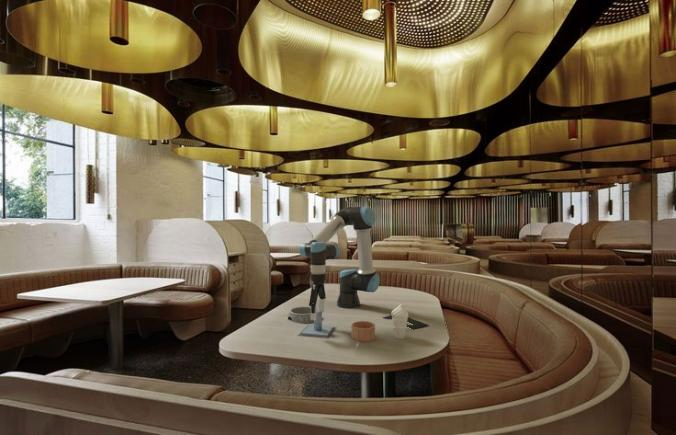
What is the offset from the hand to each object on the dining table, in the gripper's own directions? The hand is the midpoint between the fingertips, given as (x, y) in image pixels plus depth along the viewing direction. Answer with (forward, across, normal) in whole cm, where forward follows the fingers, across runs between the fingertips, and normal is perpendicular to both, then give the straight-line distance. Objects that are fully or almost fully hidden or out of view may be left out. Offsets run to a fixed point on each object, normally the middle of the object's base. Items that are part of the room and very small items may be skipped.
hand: (317, 315), depth 161 cm
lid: (+8, 0, 0) cm, 8 cm away
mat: (+9, 0, 0) cm, 9 cm away
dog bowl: (+9, -19, -14) cm, 26 cm away
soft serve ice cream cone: (+9, -3, +40) cm, 41 cm away
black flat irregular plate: (+9, -27, +41) cm, 50 cm away
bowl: (+8, +1, +23) cm, 25 cm away
